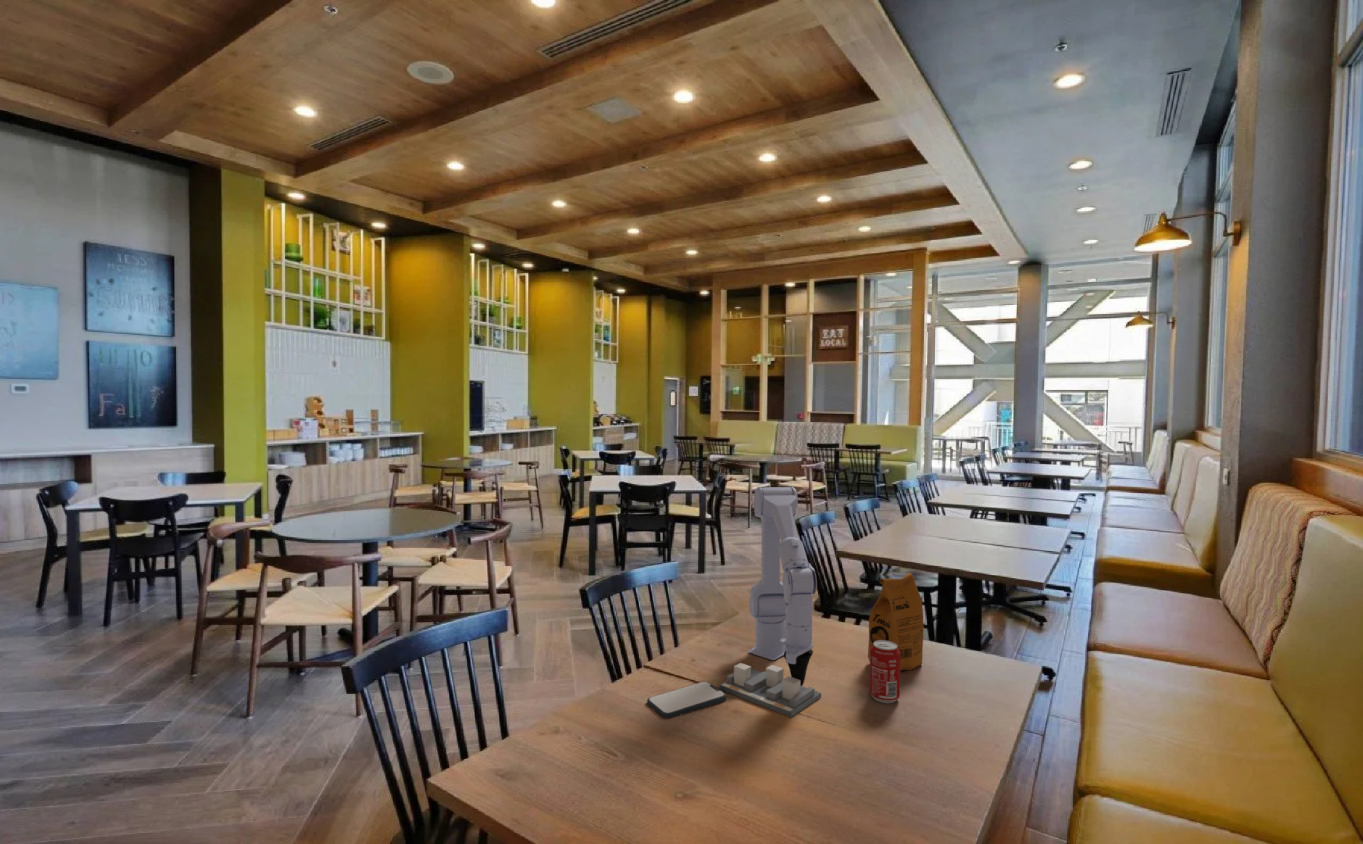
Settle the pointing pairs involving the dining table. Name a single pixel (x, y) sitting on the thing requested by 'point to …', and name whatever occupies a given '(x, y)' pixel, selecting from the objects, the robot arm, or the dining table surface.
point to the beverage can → (885, 671)
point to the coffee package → (899, 620)
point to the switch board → (763, 694)
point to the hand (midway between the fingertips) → (798, 684)
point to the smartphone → (686, 699)
